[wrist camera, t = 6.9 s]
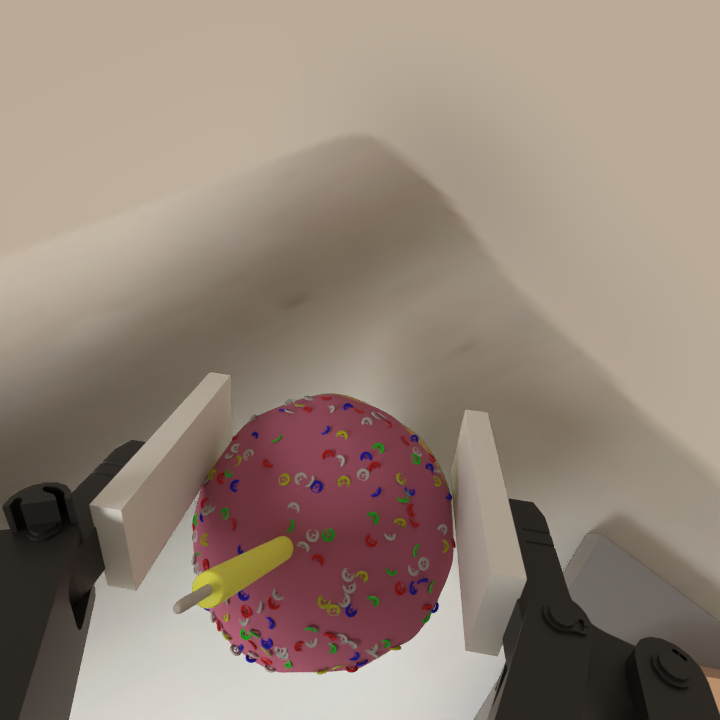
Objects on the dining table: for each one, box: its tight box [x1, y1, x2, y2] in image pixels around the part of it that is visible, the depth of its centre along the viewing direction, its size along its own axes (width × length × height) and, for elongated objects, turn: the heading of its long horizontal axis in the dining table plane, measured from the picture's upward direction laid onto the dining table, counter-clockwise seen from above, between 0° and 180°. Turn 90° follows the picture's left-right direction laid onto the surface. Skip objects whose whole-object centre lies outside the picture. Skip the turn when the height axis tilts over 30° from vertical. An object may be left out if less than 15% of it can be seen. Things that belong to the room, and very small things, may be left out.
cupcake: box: [173, 394, 455, 674], centre depth 14 cm, size 9×8×12 cm
